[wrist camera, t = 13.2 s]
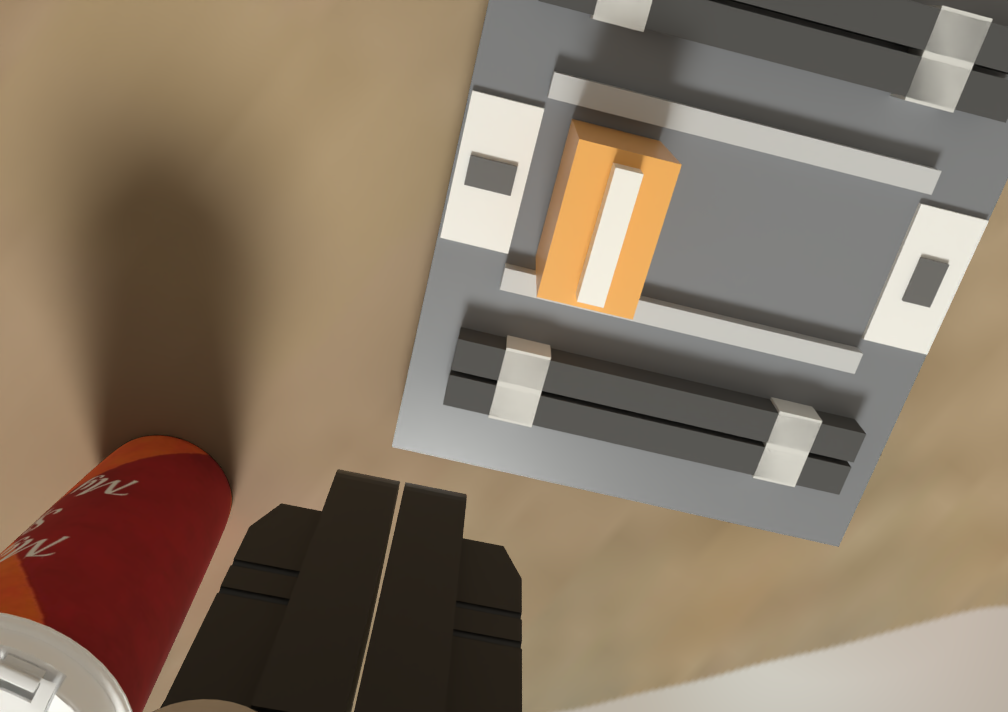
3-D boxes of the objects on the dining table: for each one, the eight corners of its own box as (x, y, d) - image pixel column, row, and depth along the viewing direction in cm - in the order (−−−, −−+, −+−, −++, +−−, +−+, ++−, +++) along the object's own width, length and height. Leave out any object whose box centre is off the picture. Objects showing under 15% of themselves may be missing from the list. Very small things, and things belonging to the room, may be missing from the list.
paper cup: (116, 378, 36) (-118, 597, 23) (287, 466, 37) (159, 721, 24) (49, 519, 38) (-194, 787, 25) (212, 597, 40) (59, 888, 27)
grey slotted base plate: (558, -86, 29) (561, -97, 26) (986, 29, 30) (1045, 33, 26) (450, 367, 35) (442, 407, 32) (808, 449, 36) (838, 497, 33)
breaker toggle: (571, 118, 29) (580, 143, 24) (660, 140, 29) (686, 170, 24) (535, 256, 31) (537, 305, 26) (618, 276, 31) (635, 328, 26)
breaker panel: (534, -192, 28) (534, -213, 25) (1065, -45, 29) (1124, -50, 26) (400, 417, 36) (389, 454, 33) (819, 512, 37) (843, 555, 34)
